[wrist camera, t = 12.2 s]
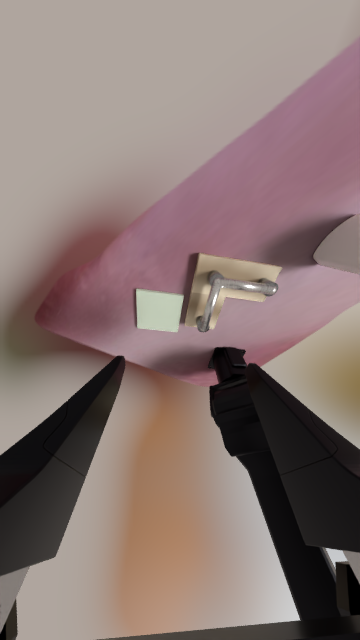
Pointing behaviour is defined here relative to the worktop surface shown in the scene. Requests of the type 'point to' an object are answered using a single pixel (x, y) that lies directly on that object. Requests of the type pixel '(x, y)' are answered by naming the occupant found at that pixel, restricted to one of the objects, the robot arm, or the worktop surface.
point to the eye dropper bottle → (341, 247)
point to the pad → (158, 310)
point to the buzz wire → (226, 286)
